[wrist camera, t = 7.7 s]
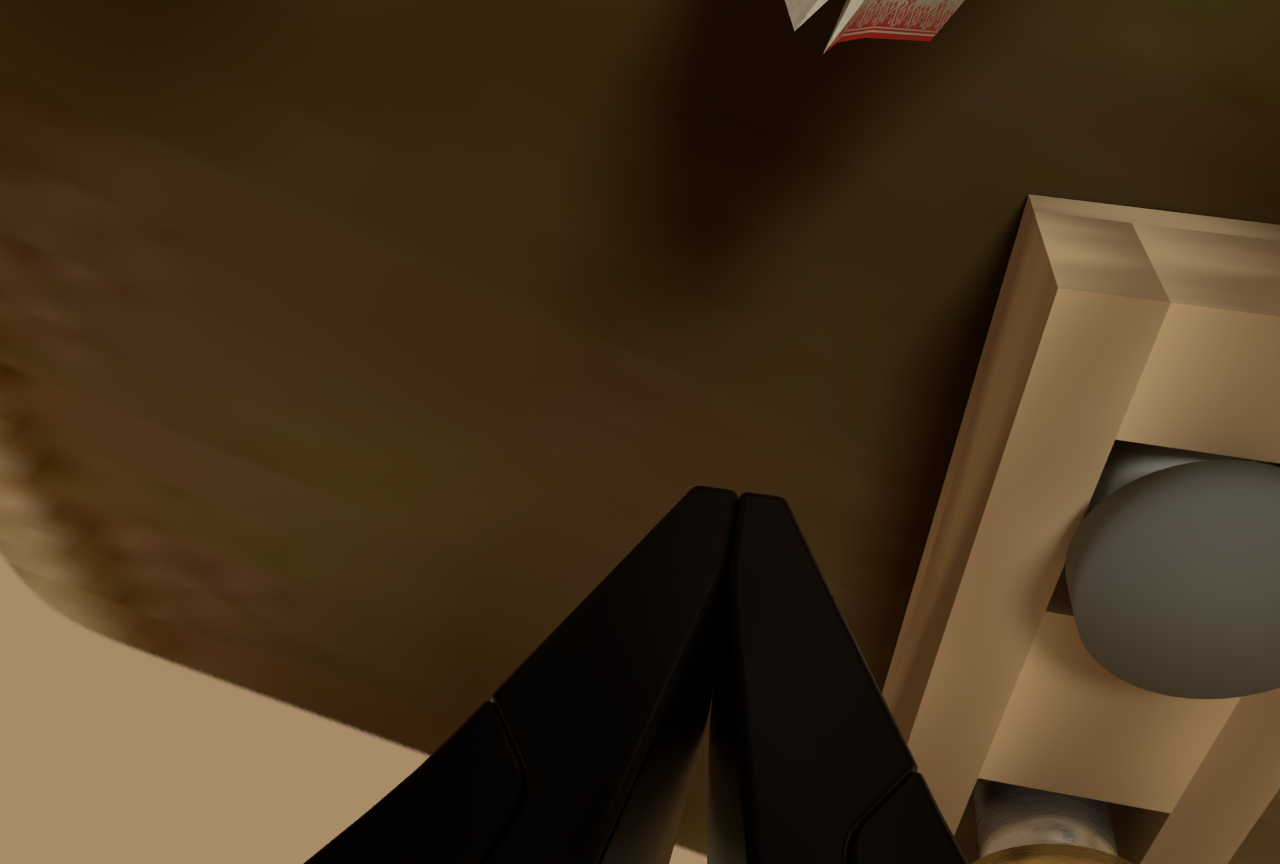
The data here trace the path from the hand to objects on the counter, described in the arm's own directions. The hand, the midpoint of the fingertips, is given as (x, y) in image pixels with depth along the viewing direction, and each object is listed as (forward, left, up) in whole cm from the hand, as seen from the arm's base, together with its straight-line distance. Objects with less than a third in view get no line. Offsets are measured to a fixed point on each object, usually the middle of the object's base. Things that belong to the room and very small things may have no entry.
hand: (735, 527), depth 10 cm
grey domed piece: (-9, +6, -12) cm, 16 cm away
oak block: (-9, +11, -13) cm, 19 cm away
